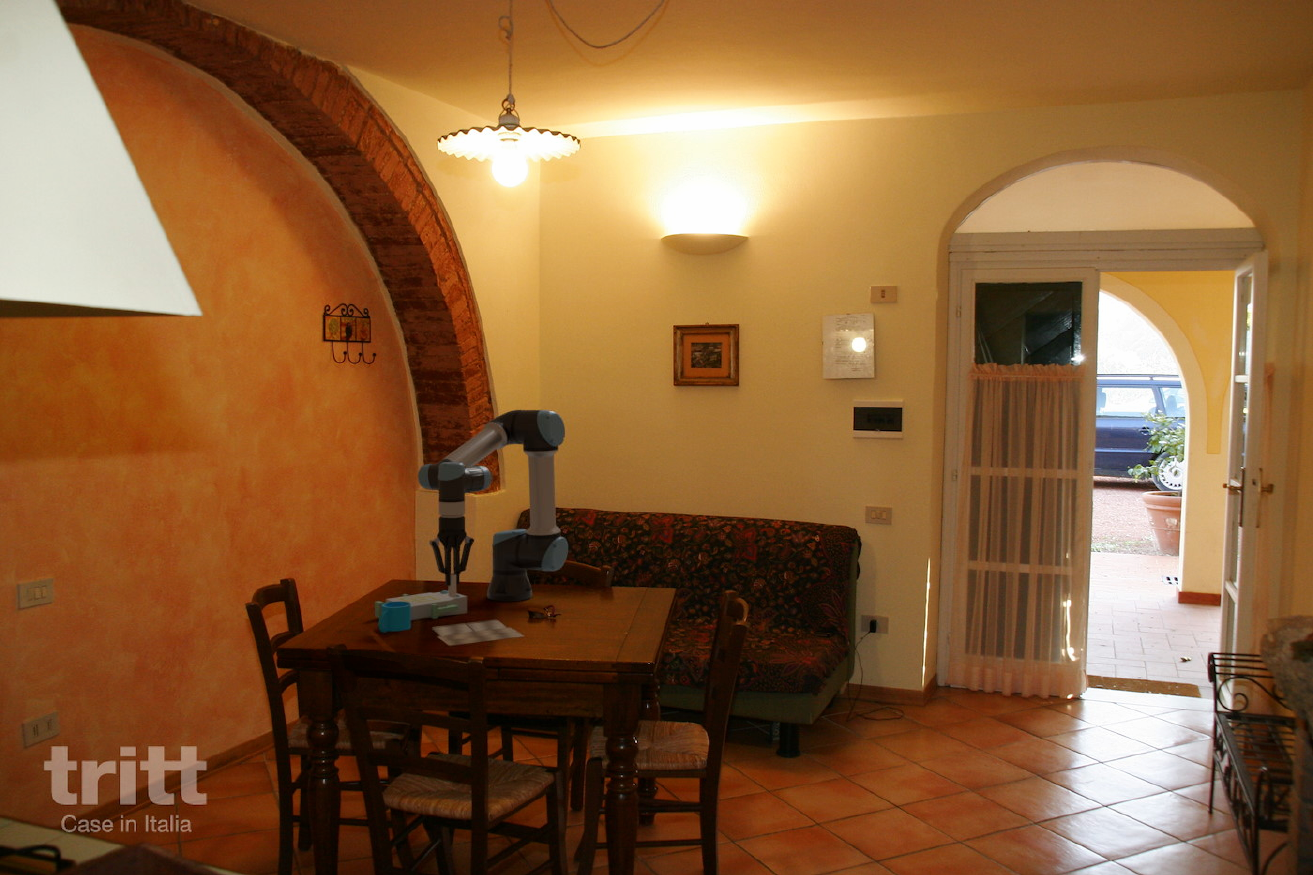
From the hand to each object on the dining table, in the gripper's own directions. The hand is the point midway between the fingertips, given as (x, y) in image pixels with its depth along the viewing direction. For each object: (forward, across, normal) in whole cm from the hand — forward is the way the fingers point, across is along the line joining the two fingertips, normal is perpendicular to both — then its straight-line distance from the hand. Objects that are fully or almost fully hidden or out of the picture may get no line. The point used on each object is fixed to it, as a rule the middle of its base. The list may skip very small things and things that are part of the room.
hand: (452, 596), depth 273 cm
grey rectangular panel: (+11, -10, +1) cm, 15 cm away
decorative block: (+12, +2, -25) cm, 28 cm away
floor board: (+11, -5, +11) cm, 16 cm away
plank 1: (+11, 0, +1) cm, 11 cm away
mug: (+11, +15, -8) cm, 21 cm away
